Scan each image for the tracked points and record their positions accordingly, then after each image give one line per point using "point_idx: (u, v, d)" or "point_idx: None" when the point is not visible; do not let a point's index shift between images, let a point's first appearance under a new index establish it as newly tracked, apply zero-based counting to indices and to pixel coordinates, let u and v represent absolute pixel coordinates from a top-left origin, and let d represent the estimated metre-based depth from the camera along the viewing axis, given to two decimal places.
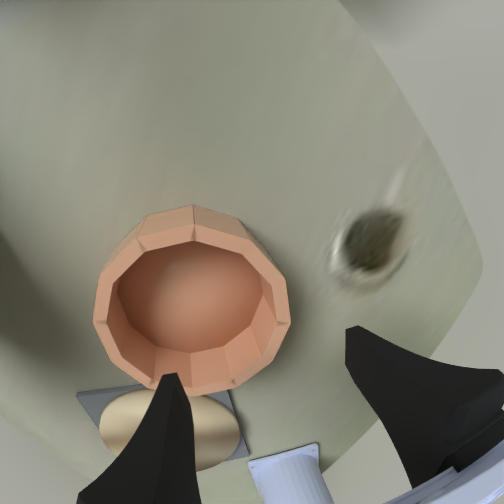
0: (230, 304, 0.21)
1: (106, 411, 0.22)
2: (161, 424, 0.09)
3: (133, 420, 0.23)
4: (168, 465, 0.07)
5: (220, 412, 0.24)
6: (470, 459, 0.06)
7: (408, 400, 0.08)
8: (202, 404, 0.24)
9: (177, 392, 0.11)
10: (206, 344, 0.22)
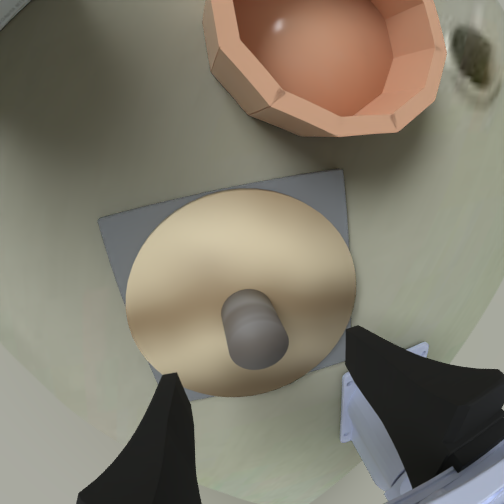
0: (361, 58, 0.14)
1: (148, 240, 0.15)
2: (161, 424, 0.09)
3: (194, 260, 0.16)
4: (168, 465, 0.07)
5: (337, 243, 0.17)
6: (469, 459, 0.06)
7: (408, 400, 0.08)
8: (315, 221, 0.16)
9: (177, 392, 0.11)
10: (330, 110, 0.15)
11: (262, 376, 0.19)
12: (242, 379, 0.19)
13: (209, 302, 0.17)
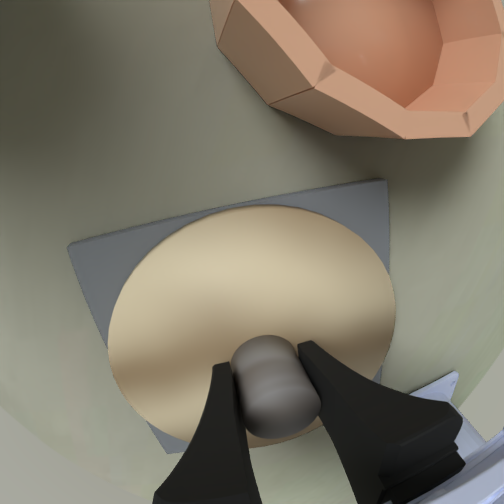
0: (408, 40, 0.10)
1: (133, 277, 0.11)
2: (227, 412, 0.09)
3: (195, 302, 0.12)
4: (242, 453, 0.07)
5: (378, 274, 0.13)
6: (408, 496, 0.05)
7: (348, 426, 0.08)
8: (353, 248, 0.12)
9: (233, 381, 0.11)
10: None
11: None
12: None
13: (216, 351, 0.12)
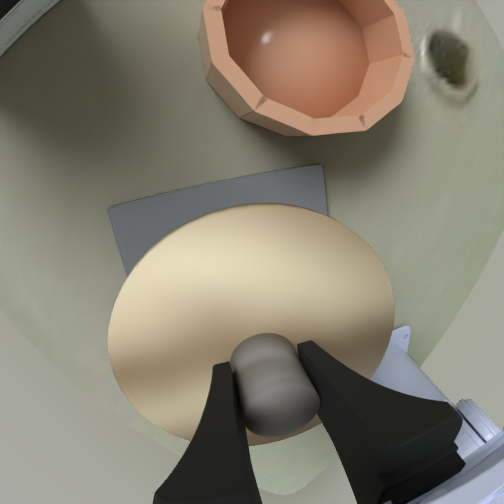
0: (339, 66, 0.16)
1: (132, 276, 0.11)
2: (227, 412, 0.09)
3: (195, 300, 0.12)
4: (243, 453, 0.07)
5: (377, 272, 0.13)
6: (408, 497, 0.05)
7: (348, 426, 0.08)
8: (352, 246, 0.12)
9: (233, 381, 0.11)
10: (310, 112, 0.17)
11: None
12: None
13: (215, 349, 0.13)
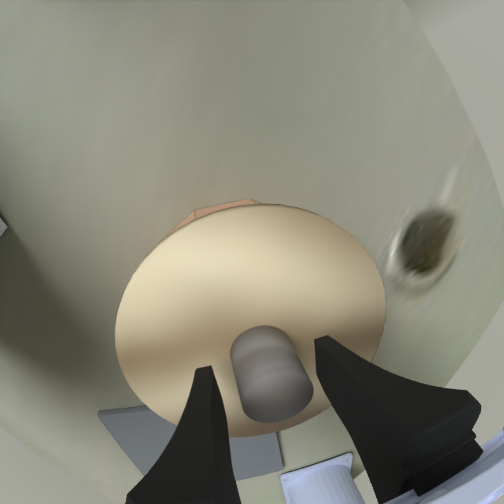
0: None
1: (143, 266, 0.12)
2: (204, 417, 0.09)
3: (200, 291, 0.13)
4: (217, 458, 0.07)
5: (370, 273, 0.14)
6: (431, 484, 0.06)
7: (370, 417, 0.08)
8: (347, 247, 0.13)
9: (214, 385, 0.11)
10: None
11: None
12: (250, 420, 0.16)
13: (217, 339, 0.13)
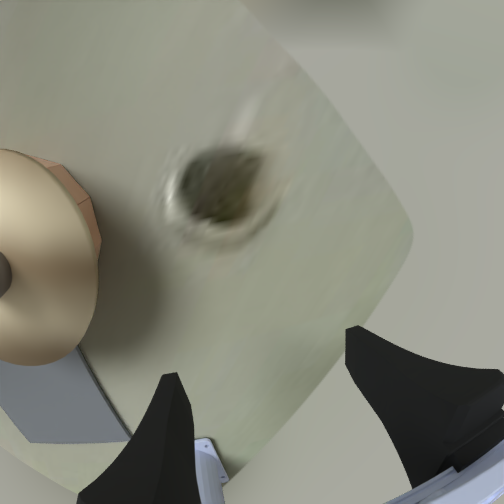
0: None
1: None
2: (161, 424, 0.09)
3: None
4: (168, 465, 0.07)
5: (57, 199, 0.13)
6: (470, 459, 0.06)
7: (408, 400, 0.08)
8: (31, 175, 0.12)
9: (177, 392, 0.11)
10: None
11: (26, 345, 0.15)
12: (11, 345, 0.15)
13: None
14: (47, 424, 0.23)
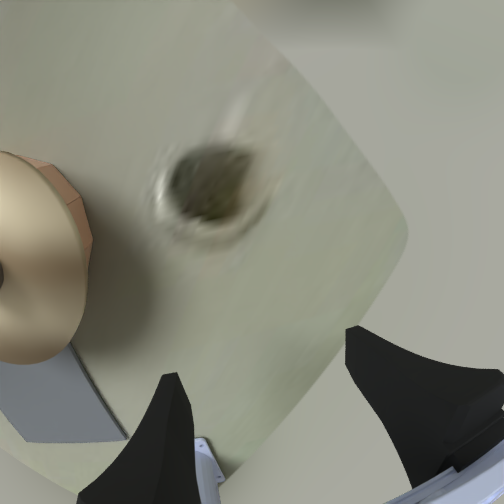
0: None
1: None
2: (161, 424, 0.09)
3: None
4: (168, 465, 0.07)
5: (45, 198, 0.13)
6: (470, 459, 0.06)
7: (408, 400, 0.08)
8: (20, 175, 0.12)
9: (177, 392, 0.11)
10: None
11: (19, 344, 0.15)
12: (4, 343, 0.15)
13: None
14: (43, 424, 0.23)
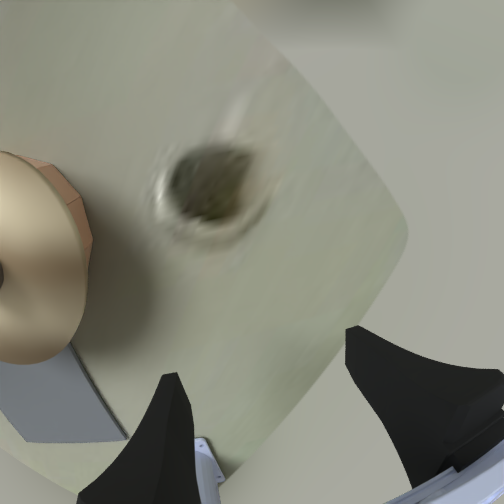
0: None
1: None
2: (161, 424, 0.09)
3: None
4: (168, 465, 0.07)
5: (45, 198, 0.13)
6: (470, 459, 0.06)
7: (408, 400, 0.08)
8: (20, 175, 0.12)
9: (177, 392, 0.11)
10: None
11: (19, 344, 0.15)
12: (4, 343, 0.15)
13: None
14: (43, 424, 0.23)
